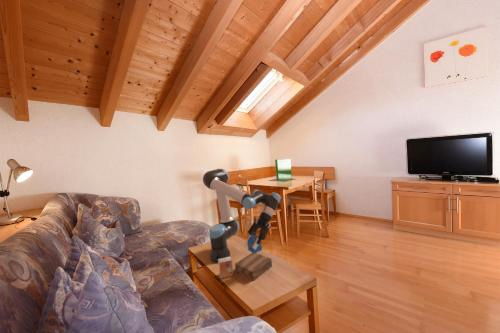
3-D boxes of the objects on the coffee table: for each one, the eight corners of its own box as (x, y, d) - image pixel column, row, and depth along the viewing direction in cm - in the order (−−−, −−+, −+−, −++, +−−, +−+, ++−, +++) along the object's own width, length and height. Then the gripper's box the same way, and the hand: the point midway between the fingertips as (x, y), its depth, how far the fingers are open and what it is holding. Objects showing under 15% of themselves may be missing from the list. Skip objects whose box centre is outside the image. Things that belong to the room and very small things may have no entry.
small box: (220, 279, 138) (218, 263, 137) (219, 274, 143) (217, 258, 142) (233, 275, 140) (231, 260, 139) (231, 271, 145) (229, 256, 144)
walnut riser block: (235, 272, 144) (235, 263, 143) (254, 259, 157) (253, 251, 156) (253, 281, 133) (253, 272, 132) (272, 267, 146) (271, 258, 145)
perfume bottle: (254, 253, 136) (252, 235, 135) (248, 250, 141) (246, 232, 140) (261, 250, 140) (260, 232, 139) (255, 246, 145) (254, 229, 144)
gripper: (280, 220, 141) (264, 254, 133) (260, 214, 156) (244, 244, 147) (274, 214, 137) (257, 249, 129) (253, 208, 152) (237, 239, 143)
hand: (250, 246), depth 138 cm, fingers closed on perfume bottle, 6 cm apart
